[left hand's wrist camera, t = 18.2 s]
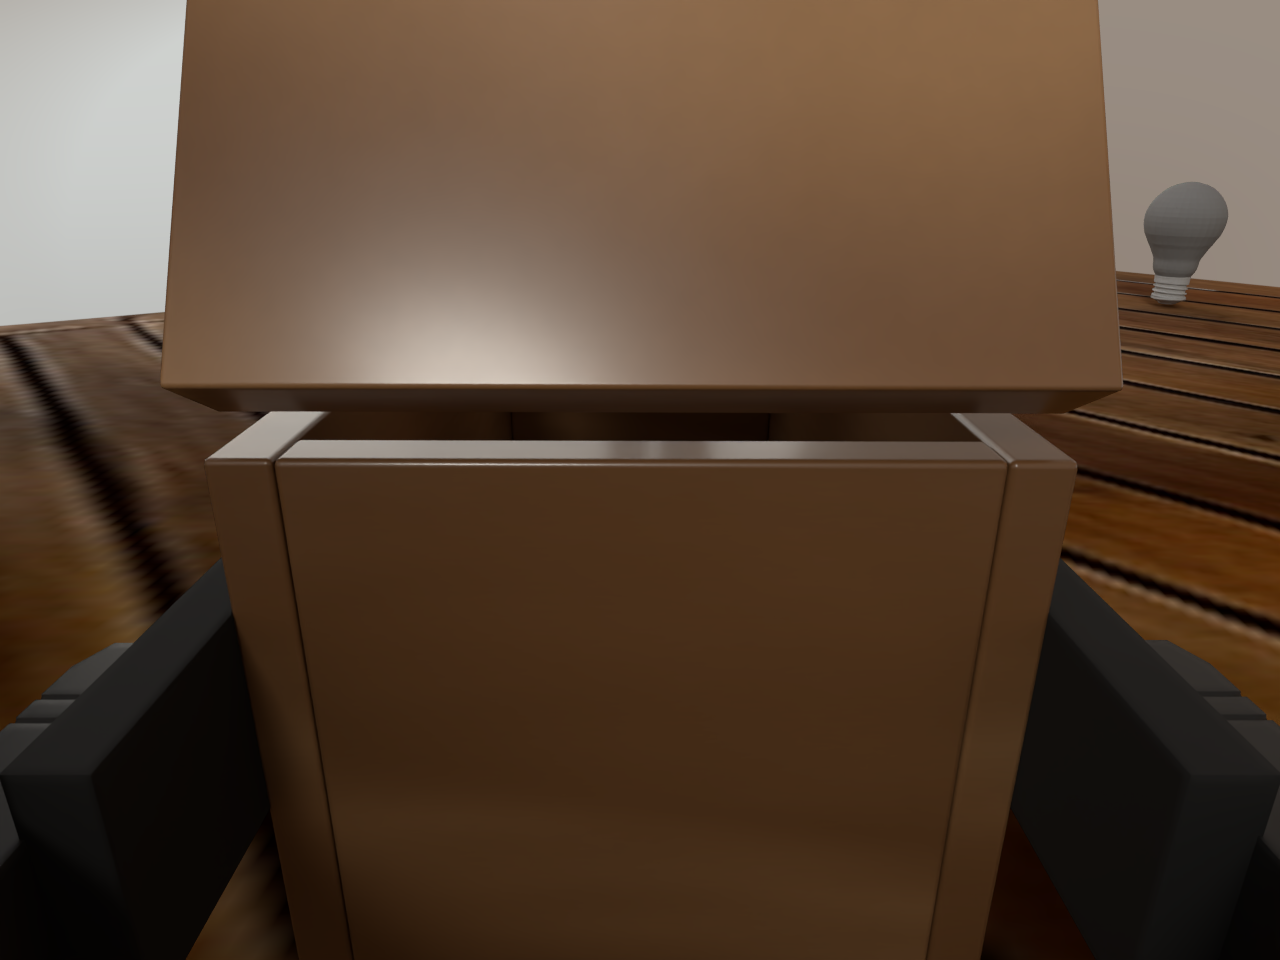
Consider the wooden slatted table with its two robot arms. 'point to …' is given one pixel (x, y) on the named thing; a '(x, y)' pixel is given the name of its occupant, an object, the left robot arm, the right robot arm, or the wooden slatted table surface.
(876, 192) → the lid
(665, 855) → the chest
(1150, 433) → the wooden slatted table surface
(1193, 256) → the light bulb
